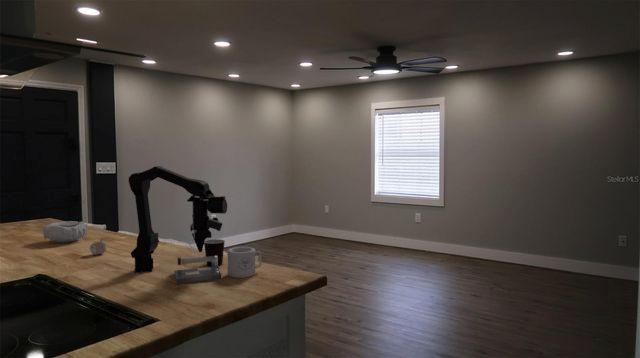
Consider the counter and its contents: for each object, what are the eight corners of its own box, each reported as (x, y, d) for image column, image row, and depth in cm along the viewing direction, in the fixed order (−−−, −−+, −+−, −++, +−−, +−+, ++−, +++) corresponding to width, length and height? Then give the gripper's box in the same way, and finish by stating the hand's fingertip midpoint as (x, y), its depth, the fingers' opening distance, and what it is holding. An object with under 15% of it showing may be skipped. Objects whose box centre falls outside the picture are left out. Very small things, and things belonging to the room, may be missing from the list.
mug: (232, 279, 166) (231, 253, 165) (224, 272, 176) (224, 248, 175) (266, 275, 172) (265, 249, 172) (256, 268, 182) (256, 244, 181)
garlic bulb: (92, 257, 201) (91, 239, 200) (88, 254, 205) (88, 237, 205) (108, 254, 205) (107, 237, 204) (104, 252, 210) (103, 235, 209)
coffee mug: (219, 267, 183) (219, 243, 182) (200, 266, 185) (200, 243, 184) (230, 260, 194) (230, 238, 194) (212, 259, 196) (212, 237, 195)
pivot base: (210, 271, 178) (210, 270, 178) (209, 268, 181) (209, 267, 181) (220, 270, 179) (220, 269, 179) (218, 267, 183) (218, 266, 183)
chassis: (177, 284, 160) (176, 278, 160) (174, 275, 171) (174, 270, 171) (221, 279, 167) (221, 273, 166) (216, 271, 178) (215, 265, 177)
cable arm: (178, 271, 174) (177, 259, 174) (177, 270, 177) (177, 257, 176) (218, 268, 179) (218, 255, 179) (217, 266, 182) (217, 254, 182)
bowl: (76, 236, 248) (76, 218, 247) (95, 240, 236) (95, 222, 235) (36, 242, 231) (35, 223, 230) (54, 247, 219) (53, 227, 218)
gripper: (224, 215, 168) (224, 255, 169) (217, 209, 185) (217, 245, 187) (194, 216, 164) (194, 258, 165) (189, 210, 181) (190, 247, 182)
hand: (200, 251), depth 175 cm, fingers closed
